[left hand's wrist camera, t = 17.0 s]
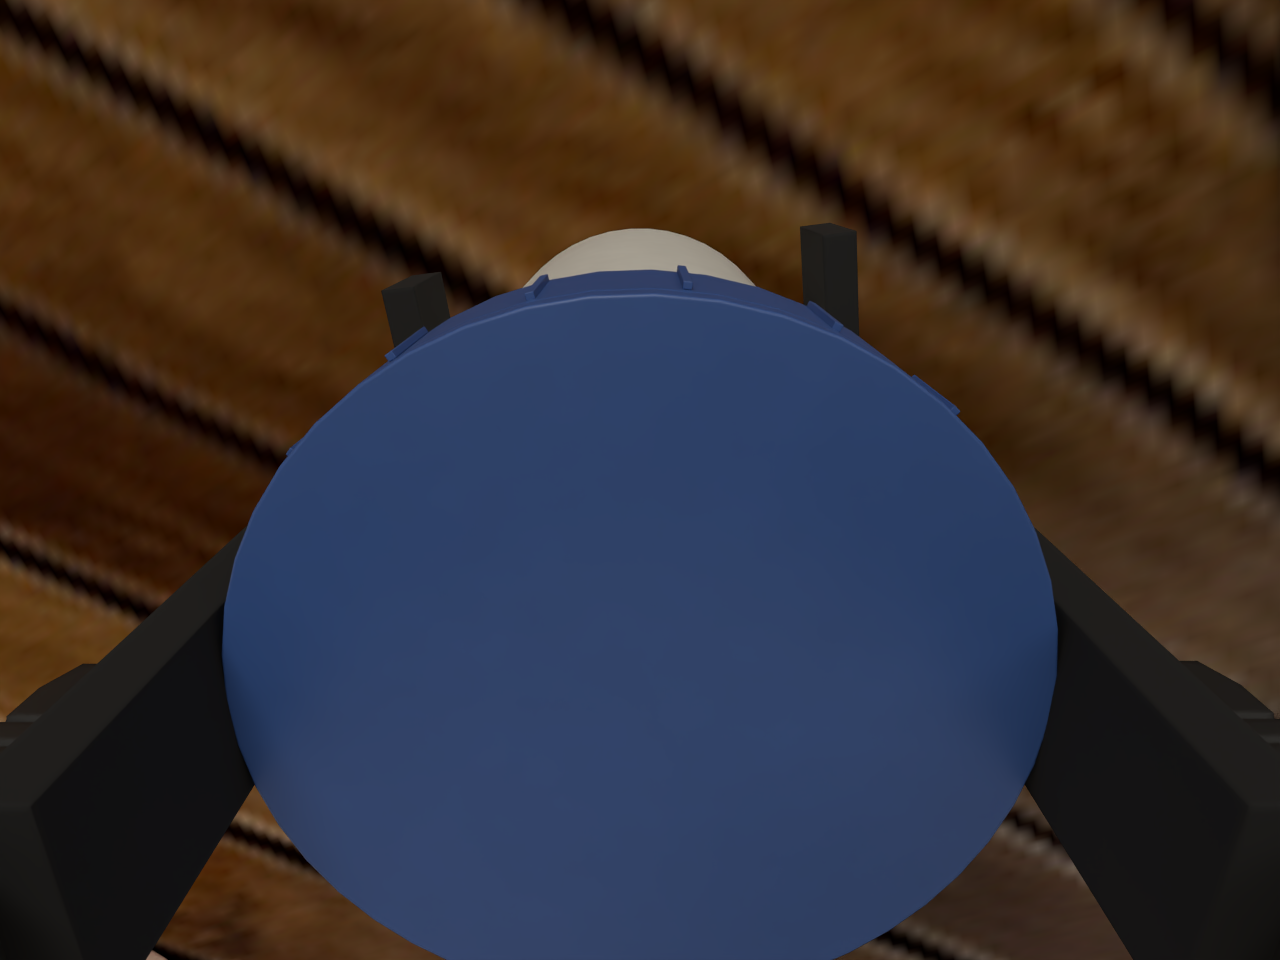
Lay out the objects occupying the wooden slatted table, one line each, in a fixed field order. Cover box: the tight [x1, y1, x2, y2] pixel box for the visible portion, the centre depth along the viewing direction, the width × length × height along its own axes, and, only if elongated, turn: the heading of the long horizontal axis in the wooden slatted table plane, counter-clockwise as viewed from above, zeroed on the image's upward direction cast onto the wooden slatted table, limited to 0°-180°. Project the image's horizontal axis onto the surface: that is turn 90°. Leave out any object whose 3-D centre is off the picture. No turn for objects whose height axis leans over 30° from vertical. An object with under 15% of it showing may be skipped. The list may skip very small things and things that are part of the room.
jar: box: [523, 229, 755, 288], centre depth 19 cm, size 9×9×17 cm
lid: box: [222, 265, 1058, 960], centre depth 11 cm, size 11×11×2 cm
